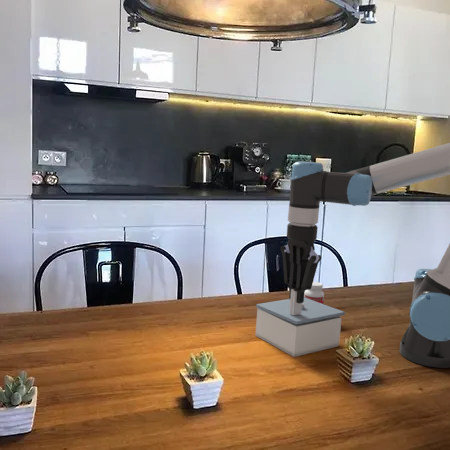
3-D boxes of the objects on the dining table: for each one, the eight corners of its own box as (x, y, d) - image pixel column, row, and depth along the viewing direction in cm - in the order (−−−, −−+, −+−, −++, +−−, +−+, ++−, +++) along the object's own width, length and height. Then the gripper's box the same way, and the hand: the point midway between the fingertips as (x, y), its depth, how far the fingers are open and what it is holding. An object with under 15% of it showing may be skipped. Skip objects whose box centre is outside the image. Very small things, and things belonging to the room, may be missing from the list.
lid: (344, 314, 141) (345, 307, 141) (296, 324, 132) (296, 316, 132) (302, 299, 155) (302, 292, 155) (256, 307, 145) (256, 300, 145)
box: (338, 346, 143) (341, 317, 142) (293, 357, 134) (296, 326, 133) (298, 326, 156) (301, 300, 155) (255, 335, 147) (257, 307, 146)
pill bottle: (324, 321, 162) (328, 286, 160) (305, 321, 161) (308, 286, 159) (318, 314, 168) (321, 281, 166) (299, 314, 167) (302, 280, 165)
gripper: (332, 227, 130) (323, 319, 134) (296, 218, 141) (289, 304, 145) (309, 228, 126) (301, 324, 130) (274, 220, 137) (267, 308, 141)
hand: (295, 313), depth 137 cm, fingers closed
